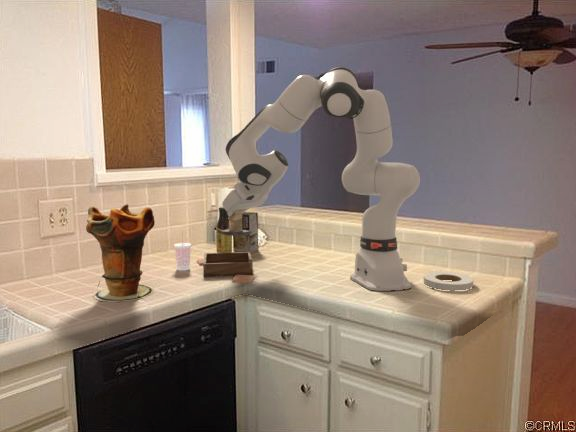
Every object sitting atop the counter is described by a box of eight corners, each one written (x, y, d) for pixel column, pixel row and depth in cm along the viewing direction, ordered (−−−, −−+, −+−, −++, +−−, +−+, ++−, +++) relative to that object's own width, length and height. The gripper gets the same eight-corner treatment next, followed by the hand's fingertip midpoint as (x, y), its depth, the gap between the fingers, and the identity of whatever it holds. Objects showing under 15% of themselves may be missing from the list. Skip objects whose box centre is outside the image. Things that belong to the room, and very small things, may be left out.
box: (252, 275, 179) (252, 262, 179) (203, 276, 177) (203, 264, 176) (249, 263, 196) (249, 251, 195) (204, 265, 194) (204, 253, 193)
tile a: (215, 265, 195) (215, 261, 195) (199, 266, 193) (199, 263, 193) (212, 261, 201) (212, 258, 201) (197, 263, 199) (196, 259, 199)
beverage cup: (194, 266, 191) (192, 229, 189) (189, 271, 185) (188, 232, 183) (177, 266, 192) (176, 229, 190) (172, 270, 186) (171, 232, 184)
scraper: (250, 234, 190) (250, 207, 188) (239, 236, 184) (239, 208, 183) (231, 231, 195) (231, 205, 193) (220, 234, 189) (220, 207, 188)
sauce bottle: (215, 254, 211) (214, 206, 208) (230, 253, 213) (229, 205, 210) (218, 258, 205) (217, 208, 202) (233, 257, 207) (232, 207, 204)
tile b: (250, 284, 170) (250, 280, 170) (232, 283, 171) (232, 279, 171) (254, 279, 176) (254, 275, 176) (237, 278, 177) (237, 274, 177)
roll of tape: (482, 286, 166) (482, 277, 166) (456, 296, 156) (456, 286, 156) (440, 277, 178) (440, 268, 177) (413, 285, 168) (413, 276, 167)
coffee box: (258, 250, 219) (258, 212, 217) (249, 253, 214) (249, 214, 211) (241, 247, 224) (241, 210, 222) (232, 250, 219) (231, 212, 216)
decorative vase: (129, 277, 175) (128, 195, 170) (173, 293, 160) (172, 204, 155) (70, 292, 159) (67, 202, 154) (113, 311, 145) (110, 213, 139)
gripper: (267, 180, 192) (246, 204, 198) (232, 183, 175) (210, 210, 181) (277, 193, 190) (256, 217, 197) (243, 197, 173) (220, 224, 180)
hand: (234, 214), depth 189 cm, fingers closed on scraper, 4 cm apart
